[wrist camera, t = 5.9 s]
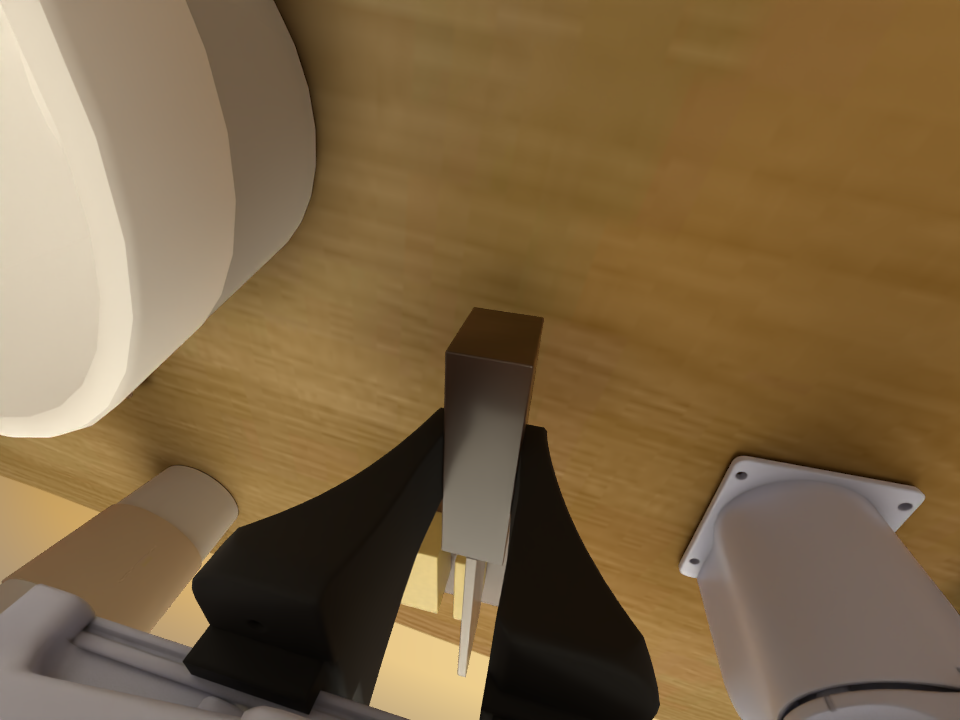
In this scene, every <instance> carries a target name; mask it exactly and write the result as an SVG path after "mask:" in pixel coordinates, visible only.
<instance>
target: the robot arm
mask: <svg viewBox="0 0 960 720" xmlns="http://www.w3.org/2000/svg"><path fill="white" fill-rule="evenodd" d="M443 446H444V408H440V409H439V410H437V411H436V412H435V413H434V414H433V415H432V416H431V417H430V418H429V419H428V420H427V421H426V422H424V423H423V424H422V425H421V426H420V427H419V428H418V429H417V430H416V431H414V432H413V433H412V434H411V435H410V436H408V437H407V438H406V439H405V440H404V441H402V442H401V443H400V444H399V445H398V446H396V447H395V448H394V449H392V450H391V451H390V452H388V453H387V454H386V455H384V456H383V457H382V458H380V459H379V460H378V461H376V462H375V463H373V464H372V465H370V466H369V467H368V468H366V469H364V470H363V471H361V472H360V473H358V474H357V475H355V476H353V477H352V478H350V479H348V480H347V481H345V482H343V483H341V484H340V485H338V486H336V487H334V488H332V489H330V490H328V491H327V492H325V493H323V494H321V495H319V496H317V497H315V498H313V499H310V500H308V501H306V502H304V503H302V504H300V505H297V506H295V507H293V508H290V509H288V510H286V511H283V512H281V513H278V514H276V515H273V516H270V517H267V518H265V519H262V520H259V521H256V522H254V523H251V524H248V525H245V526H242V527H239V528H238V529H237V530H236V531H235V532H234V533H233V534H232V535H231V536H230V537H229V538H228V539H227V540H226V541H225V542H224V543H223V544H222V545H221V547H220V548H219V549H218V550H217V551H216V552H215V554H214V555H213V556H212V557H211V559H209V561H208V562H207V563H206V564H205V565H204V566H203V568H202V569H201V570H200V571H199V572H198V573H197V574H196V575H195V577H194V578H193V581H192V590H193V593H194V596H195V598H196V600H197V602H198V604H199V606H200V608H201V609H202V611H203V613H204V615H205V617H206V618H207V620H208V622H209V624H210V626H209V627H208V628H207V630H206V631H205V633H204V634H203V635H202V636H201V638H200V639H199V640H198V641H197V643H196V644H195V645H194V647H193V648H192V647H188V646H186V645H183V644H179V643H176V642H173V641H170V640H167V639H164V638H161V637H158V636H155V635H152V634H149V633H146V632H143V631H140V630H137V629H134V628H131V627H128V626H125V625H122V624H119V623H116V622H113V621H110V620H107V619H104V618H101V617H98V616H95V611H94V610H93V608H92V607H91V606H90V605H89V604H88V603H87V602H86V601H85V600H84V599H82V598H81V597H79V596H77V595H75V594H72V593H69V592H66V591H63V590H60V589H57V588H54V587H51V586H47V585H44V584H37V585H35V586H34V587H33V588H31V589H30V590H29V591H28V592H27V593H25V594H24V595H23V596H22V597H20V598H19V599H18V600H17V601H16V602H14V603H13V604H12V605H11V606H9V607H8V608H7V609H6V610H5V611H3V612H2V613H1V614H0V720H409V719H406V718H403V717H400V716H397V715H394V714H391V713H388V712H385V711H382V710H379V709H376V708H373V707H370V706H369V704H370V700H371V697H372V694H373V690H374V687H375V684H376V680H377V677H378V673H379V670H380V667H381V663H382V660H383V657H384V654H385V650H386V647H387V644H388V640H389V637H390V634H391V631H392V628H393V625H394V622H395V619H396V616H397V613H398V610H399V606H400V603H401V600H402V597H403V594H404V591H405V588H406V585H407V582H408V579H409V577H410V574H411V571H412V568H413V565H414V562H415V559H416V556H417V554H418V551H419V549H420V546H421V544H422V542H423V540H424V537H425V535H426V533H427V531H428V529H429V526H430V524H431V522H432V520H433V518H434V515H435V513H436V511H437V509H438V507H439V504H440V502H441V500H442V493H443ZM739 472H743V473H741V474H737V473H739ZM924 499H925V495H924V494H923V493H922V492H921V491H920V490H919V489H918V488H917V487H914V486H909V485H904V484H898V483H893V482H887V481H882V480H876V479H871V478H865V477H860V476H854V475H849V474H843V473H838V472H832V471H827V470H821V469H816V468H810V467H805V466H799V465H794V464H788V463H783V462H777V461H772V460H766V459H761V458H755V457H750V456H739V457H737V458H735V459H734V460H733V461H732V463H731V464H730V466H729V468H728V470H727V472H726V474H725V476H724V478H723V480H722V482H721V484H720V486H719V488H718V490H717V491H716V493H715V495H714V497H713V499H712V501H711V503H710V505H709V507H708V509H707V511H706V513H705V515H704V517H703V518H702V520H701V522H700V524H699V526H698V528H697V530H696V532H695V534H694V536H693V538H692V540H691V542H690V544H689V545H688V547H687V549H686V551H685V553H684V555H683V557H682V559H681V561H680V563H679V570H680V572H681V573H682V574H683V575H686V576H689V577H694V578H697V580H698V584H699V588H700V592H701V596H702V600H703V604H704V607H705V611H706V615H707V619H708V623H709V627H710V631H711V635H712V638H713V642H714V646H715V650H716V654H717V658H718V662H719V665H720V669H721V673H722V677H723V681H724V684H725V687H726V690H727V693H728V695H729V697H730V700H731V702H732V704H733V706H734V707H735V709H736V711H737V713H738V714H739V716H740V718H741V719H742V720H960V615H959V613H958V612H957V611H956V610H955V608H954V607H953V606H952V605H951V603H950V602H949V601H948V599H947V598H946V597H945V596H944V594H943V593H942V592H941V591H940V589H939V588H938V587H937V586H936V584H935V583H934V582H933V580H932V579H931V578H930V577H929V575H928V574H927V573H926V572H925V570H924V569H923V568H922V567H921V565H920V564H919V563H918V561H917V560H916V559H915V558H914V556H913V555H912V554H911V553H910V551H909V550H908V549H907V547H906V546H905V545H904V544H903V542H902V541H901V540H900V539H899V537H898V536H897V535H896V534H895V532H896V531H897V529H898V528H899V527H900V526H901V525H902V524H903V523H904V522H905V521H906V520H907V519H908V518H909V516H910V515H911V514H912V513H913V512H914V511H915V510H916V509H917V508H918V507H919V506H920V504H921V503H922V502H923V501H924ZM659 706H660V702H659V693H658V687H657V682H656V678H655V674H654V669H653V666H652V662H651V659H650V655H649V652H648V649H647V646H646V643H645V640H644V637H643V635H642V634H641V633H640V631H639V630H638V629H637V627H636V626H635V625H634V623H633V622H632V620H631V619H630V618H629V616H628V615H627V613H626V612H625V611H624V609H623V608H622V606H621V605H620V603H619V602H618V601H617V599H616V597H615V596H614V594H613V593H612V591H611V590H610V588H609V587H608V585H607V584H606V582H605V581H604V579H603V577H602V575H601V574H600V572H599V570H598V569H597V567H596V565H595V563H594V562H593V560H592V558H591V557H590V555H589V553H588V551H587V550H586V548H585V546H584V544H583V542H582V540H581V538H580V536H579V534H578V532H577V530H576V528H575V525H574V523H573V521H572V519H571V517H570V514H569V512H568V509H567V507H566V505H565V502H564V499H563V497H562V494H561V491H560V488H559V485H558V482H557V479H556V476H555V472H554V469H553V465H552V462H551V457H550V453H549V448H548V441H547V431H546V429H545V428H543V427H538V426H533V425H528V424H526V428H525V433H524V438H523V442H522V447H521V453H520V460H519V466H518V473H517V479H516V486H515V492H514V498H513V505H512V511H511V521H510V532H509V544H508V555H507V562H506V568H505V573H504V579H503V584H502V589H501V595H500V600H499V605H498V611H497V616H496V622H495V629H494V635H493V641H492V647H491V654H490V660H489V666H488V672H487V678H486V684H485V690H484V695H483V701H482V707H481V714H480V720H652V719H653V718H654V716H655V715H656V714H657V712H658V709H659Z"/></svg>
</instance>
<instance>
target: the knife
mask: <svg viewBox="0 0 960 720" xmlns="http://www.w3.org/2000/svg"><path fill="white" fill-rule="evenodd" d="M543 322H544V318H543V317H537V316H530V315H523V314H516V313H510V312H503V311H496V310H489V309H483V308H476V307H474V308H473V309H472V311H471V313H470V314H469V316H468V317H467V319H466V320H465V322H464V324H463V325H462V327H461V328H460V330H459V331H458V333H457V335H456V336H455V338H454V339H453V341H452V342H451V344H450V346H449V347H448V349H447V350H446V352H445V398H444V446H443V493H442V541H441V550H442V551H446V552H449V553H453V554H457V555H461V556H465V557H466V565H465V579H464V592H463V606H462V619H461V633H460V646H459V660H458V675H459V676H463V677H466V673H467V668H468V664H469V659H470V654H471V650H472V645H473V641H474V636H475V631H476V627H477V622H478V618H479V613H480V606H481V597H482V589H483V580H484V571H485V563H486V562H489V563H493V564H497V565H501V566H502V565H503V563H504V557H505V552H506V547H507V541H508V536H509V530H510V521H511V511H512V505H513V498H514V492H515V486H516V479H517V473H518V466H519V460H520V453H521V447H522V442H523V438H524V433H525V428H526V424H527V423H528V417H529V410H530V404H531V398H532V391H533V385H534V379H535V373H536V366H537V360H538V354H539V347H540V341H541V335H542V329H543Z"/></svg>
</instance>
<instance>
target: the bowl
mask: <svg viewBox="0 0 960 720" xmlns="http://www.w3.org/2000/svg"><path fill="white" fill-rule="evenodd" d="M315 168H316V135H315V124H314V118H313V112H312V106H311V100H310V94H309V88H308V85H307V82H306V79H305V76H304V73H303V69H302V66H301V63H300V60H299V57H298V54H297V51H296V47H295V45H294V42H293V40H292V38H291V36H290V34H289V32H288V30H287V28H286V26H285V23H284V21H283V19H282V17H281V15H280V13H279V11H278V9H277V6H276V4H275V2H274V0H0V435H3V436H8V437H54V436H58V435H62V434H65V433H68V432H72V431H75V430H79V429H82V428H86V427H89V426H92V425H94V424H95V423H96V422H97V421H99V420H100V419H101V418H102V417H104V416H105V415H106V414H107V413H109V412H110V411H111V410H112V409H114V408H115V407H116V406H117V405H119V404H120V403H121V402H122V401H123V400H124V399H125V398H126V397H127V396H128V395H129V394H130V393H131V392H132V391H133V390H135V389H136V388H137V387H138V386H139V385H140V384H141V383H142V382H143V381H144V380H145V379H146V378H147V377H148V376H149V375H150V374H151V373H152V372H153V371H154V370H156V369H157V368H158V367H159V366H160V365H161V364H162V363H163V362H164V361H165V360H166V359H167V358H168V357H169V356H170V355H171V354H172V353H173V352H174V351H175V350H177V349H178V348H179V347H180V346H181V345H182V344H183V343H184V342H185V341H186V340H187V339H188V338H189V337H190V336H191V335H192V334H193V333H194V332H195V331H197V330H198V329H199V328H200V327H201V326H202V325H203V324H204V322H205V320H206V319H207V318H208V317H209V316H210V315H211V314H213V313H214V312H215V311H216V310H217V309H218V308H219V307H220V306H221V305H222V304H223V303H224V302H225V301H226V300H227V299H228V298H229V297H230V296H232V295H233V294H234V293H235V292H236V291H237V290H238V289H239V288H240V287H241V286H242V285H243V284H244V283H245V282H246V281H247V280H248V279H250V278H251V277H252V276H253V275H254V274H255V273H256V272H257V271H258V270H259V269H260V268H261V267H262V266H263V265H264V264H265V263H266V262H267V261H269V260H270V259H271V258H272V257H273V256H274V255H275V254H276V253H277V252H278V251H279V250H280V249H281V248H282V247H283V246H284V245H285V244H286V243H287V242H288V241H289V239H290V238H291V237H292V235H293V234H294V232H295V231H296V229H297V228H298V226H299V225H300V223H301V222H302V219H303V216H304V214H305V211H306V208H307V206H308V203H309V201H310V198H311V194H312V187H313V181H314V175H315Z"/></svg>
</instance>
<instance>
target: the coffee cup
mask: <svg viewBox="0 0 960 720" xmlns="http://www.w3.org/2000/svg"><path fill="white" fill-rule="evenodd" d="M237 516H238V508H237V505H236V502H235V501H234V499H233V497H232V496H231V495H230V493H229V492H228V491H227V490H226V489H225V488H224V487H223V486H222V485H221V484H220V483H218V482H217V481H216V480H214V479H213V478H211V477H210V476H208V475H206V474H205V473H203V472H201V471H198V470H196V469H193V468H190V467H186V466H171V467H168V468H167V469H165V470H164V471H163V472H161V473H160V474H158V475H157V476H155V477H154V478H153V479H151V480H150V481H148V482H147V483H145V484H144V485H143V486H141V487H140V488H138V489H137V490H135V491H134V492H133V493H131V494H130V495H128V496H127V497H125V498H124V499H123V500H121V501H120V502H118V503H117V504H114V505H111V506H110V507H108V508H107V509H105V510H104V511H102V512H101V513H99V514H98V515H97V516H95V517H94V518H92V519H91V520H89V521H88V522H86V523H85V524H83V525H82V526H81V527H79V528H78V529H76V530H75V531H73V532H72V533H70V534H69V535H68V536H66V537H65V538H63V539H62V540H60V541H59V542H57V543H56V544H54V545H53V546H51V547H50V548H49V549H47V550H46V551H44V552H43V553H41V554H40V555H39V556H37V557H35V558H34V559H33V560H31V561H30V562H28V563H27V564H25V565H24V566H22V567H21V568H20V569H18V570H17V571H15V572H14V573H12V574H11V575H9V576H8V577H6V578H5V579H4V580H3V581H2V584H1V585H0V614H1V613H2V612H3V611H5V610H6V609H7V608H8V607H9V606H11V605H12V604H13V603H14V602H16V601H17V600H18V599H19V598H20V597H22V596H23V595H24V594H25V593H27V592H28V591H29V590H30V589H31V588H33V587H34V586H35V585H37V584H44V585H47V586H51V587H54V588H57V589H60V590H63V591H66V592H69V593H72V594H75V595H77V596H79V597H81V598H82V599H84V600H85V601H86V602H87V603H88V604H89V605H90V606H91V607H92V608H93V610H94V611H95V616H98V617H101V618H104V619H107V620H110V621H113V622H116V623H119V624H122V625H125V626H128V627H131V628H134V629H137V630H140V631H143V632H146V633H150V631H151V630H152V629H153V627H154V626H155V625H156V624H157V622H158V621H159V619H160V618H161V617H162V616H163V615H164V613H165V612H166V611H167V610H168V608H169V607H170V606H171V604H172V603H173V602H174V601H175V599H176V598H177V597H178V595H179V594H180V593H181V591H182V590H183V589H184V588H185V587H186V585H187V584H188V582H189V581H190V580H191V579H192V577H193V576H194V575H195V574H196V572H197V571H198V570H199V569H200V567H201V564H202V561H203V560H204V559H205V557H206V556H207V555H208V554H209V552H210V551H211V550H212V549H213V547H214V546H215V545H216V544H217V542H218V541H219V540H220V539H221V537H222V536H223V535H224V534H225V532H226V531H227V530H228V528H229V527H230V526H231V525H232V523H233V522H234V521H235V520H236V518H237Z"/></svg>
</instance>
